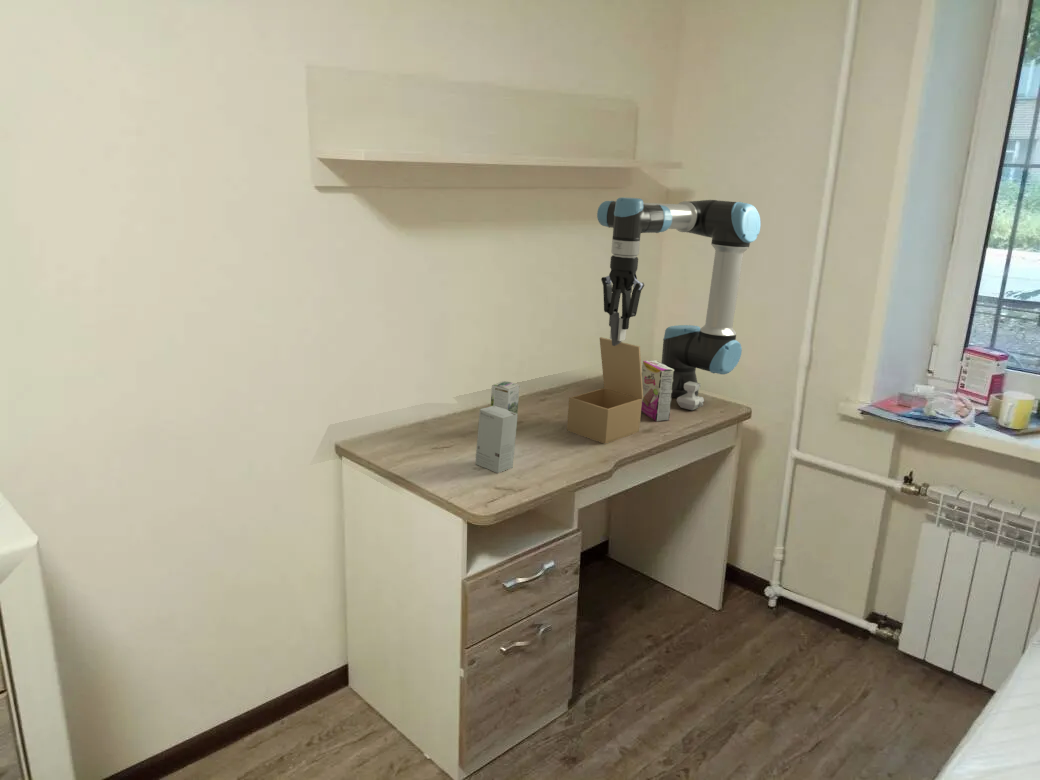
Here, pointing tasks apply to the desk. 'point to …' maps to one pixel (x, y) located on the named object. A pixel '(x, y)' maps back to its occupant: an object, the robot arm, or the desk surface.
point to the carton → (604, 415)
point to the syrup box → (505, 396)
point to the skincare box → (496, 438)
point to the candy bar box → (657, 390)
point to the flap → (621, 363)
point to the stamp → (690, 397)
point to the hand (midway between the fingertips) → (617, 339)
